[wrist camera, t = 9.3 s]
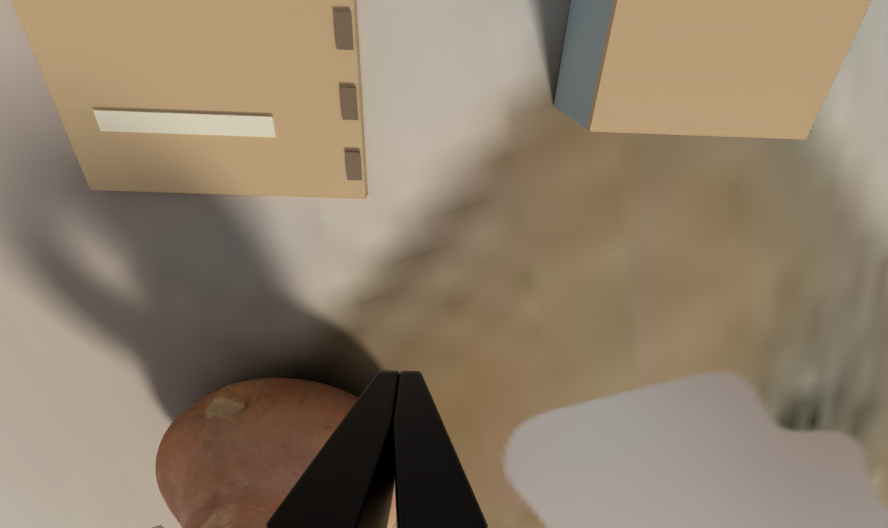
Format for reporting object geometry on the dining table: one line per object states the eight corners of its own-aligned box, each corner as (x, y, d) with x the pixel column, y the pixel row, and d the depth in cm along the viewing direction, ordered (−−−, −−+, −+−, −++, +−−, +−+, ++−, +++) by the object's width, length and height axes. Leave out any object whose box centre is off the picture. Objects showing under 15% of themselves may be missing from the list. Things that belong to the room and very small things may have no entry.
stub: (768, -28, 15) (893, -48, 11) (718, 112, 17) (806, 139, 13) (577, -37, 15) (630, -61, 11) (553, 106, 17) (589, 131, 13)
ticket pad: (343, -218, 12) (338, -232, 12) (367, 194, 19) (364, 200, 18) (-71, -243, 12) (-101, -259, 11) (100, 185, 18) (87, 191, 18)
